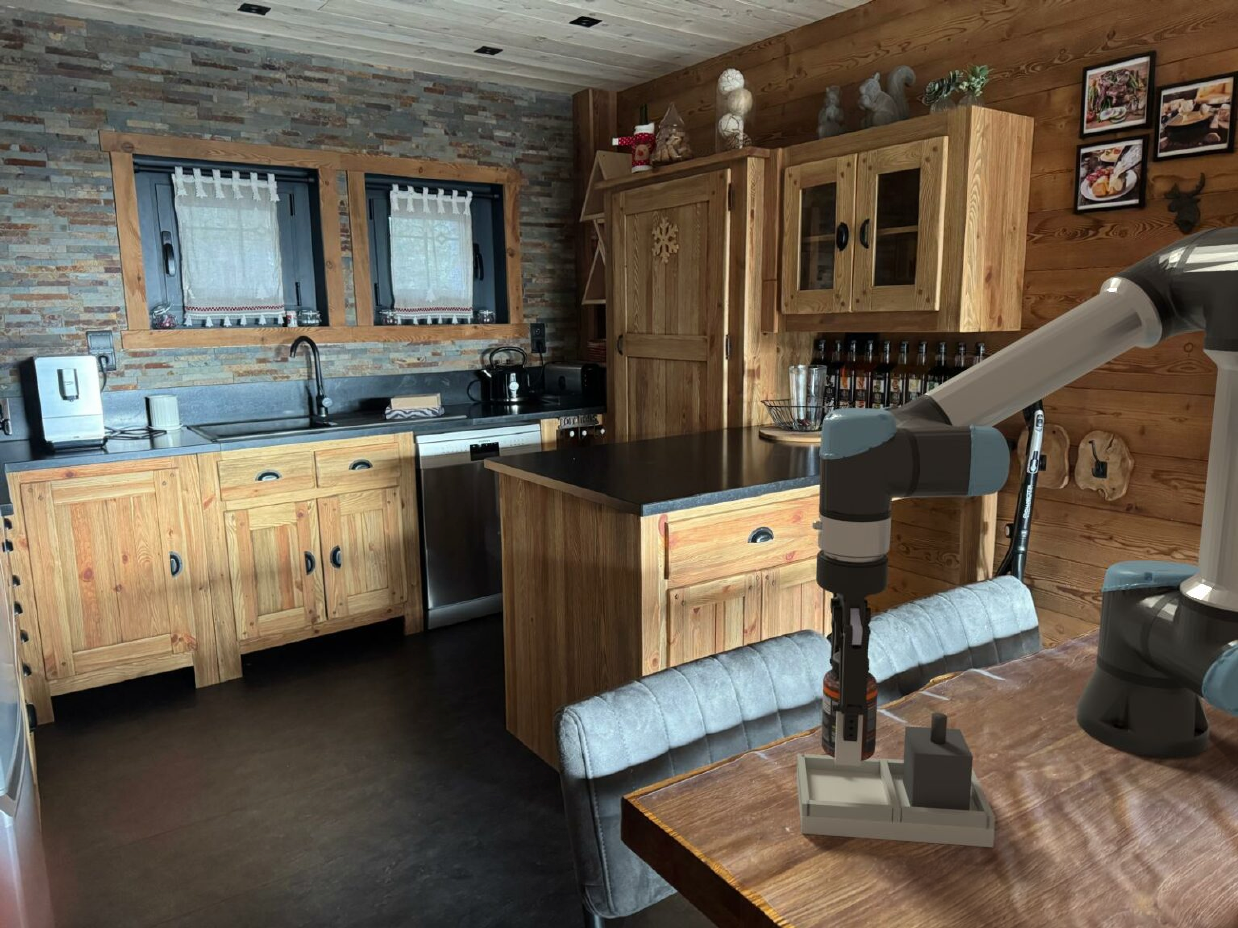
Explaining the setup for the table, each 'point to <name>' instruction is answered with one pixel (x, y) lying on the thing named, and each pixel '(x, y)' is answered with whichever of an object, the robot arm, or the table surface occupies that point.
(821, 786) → the two-section tray
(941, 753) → the single-knob plug
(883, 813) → the free socket
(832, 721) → the supplement bottle
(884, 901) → the table surface
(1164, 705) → the robot arm
